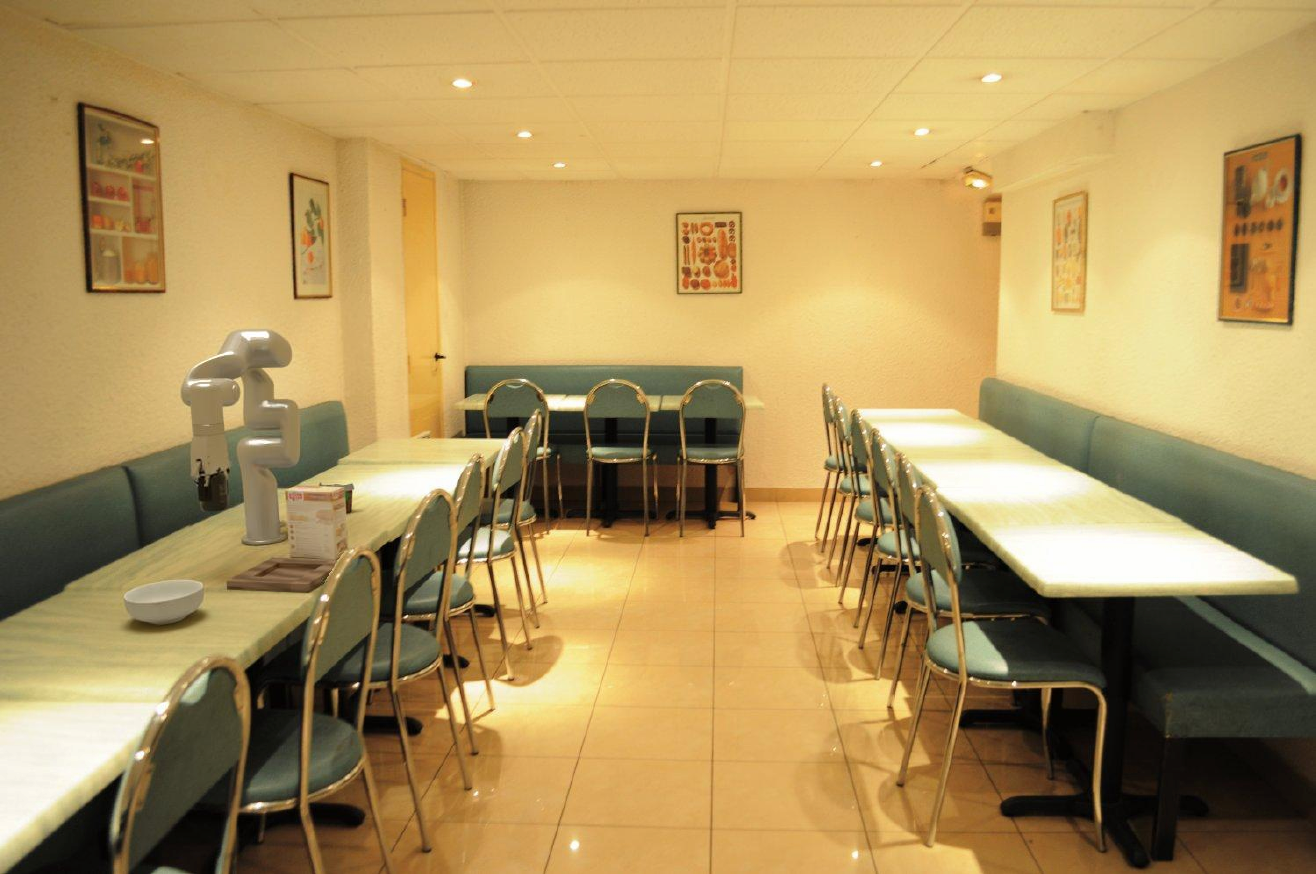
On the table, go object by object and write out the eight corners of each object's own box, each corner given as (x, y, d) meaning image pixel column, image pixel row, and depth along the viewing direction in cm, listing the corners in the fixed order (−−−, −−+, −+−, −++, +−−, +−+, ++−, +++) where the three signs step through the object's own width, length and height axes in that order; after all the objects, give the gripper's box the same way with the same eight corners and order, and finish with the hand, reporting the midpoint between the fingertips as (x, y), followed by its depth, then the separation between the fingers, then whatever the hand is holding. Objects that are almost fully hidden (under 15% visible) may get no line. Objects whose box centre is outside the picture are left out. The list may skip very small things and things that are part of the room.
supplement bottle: (223, 505, 274) (219, 460, 272) (233, 509, 269) (229, 463, 267) (196, 509, 269) (192, 463, 267) (206, 513, 264) (202, 467, 262)
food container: (312, 515, 341) (310, 485, 340) (321, 511, 347) (319, 482, 346) (347, 516, 339) (345, 486, 338) (355, 512, 345) (354, 483, 344)
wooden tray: (272, 565, 283) (272, 557, 282) (348, 568, 279) (347, 560, 279) (227, 589, 261) (226, 580, 261) (308, 592, 258) (307, 584, 257)
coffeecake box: (349, 553, 294) (345, 486, 291) (335, 560, 287) (331, 491, 284) (303, 550, 298) (299, 484, 295) (288, 557, 291) (284, 489, 288)
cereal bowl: (150, 607, 248) (147, 579, 247) (218, 607, 247) (216, 579, 246) (111, 631, 231) (108, 601, 230) (184, 631, 230) (181, 601, 229)
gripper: (215, 424, 275) (220, 490, 278) (173, 435, 258) (179, 504, 261) (241, 425, 273) (246, 491, 276) (201, 435, 256) (206, 505, 259)
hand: (214, 497), depth 268 cm, fingers closed on supplement bottle, 6 cm apart
